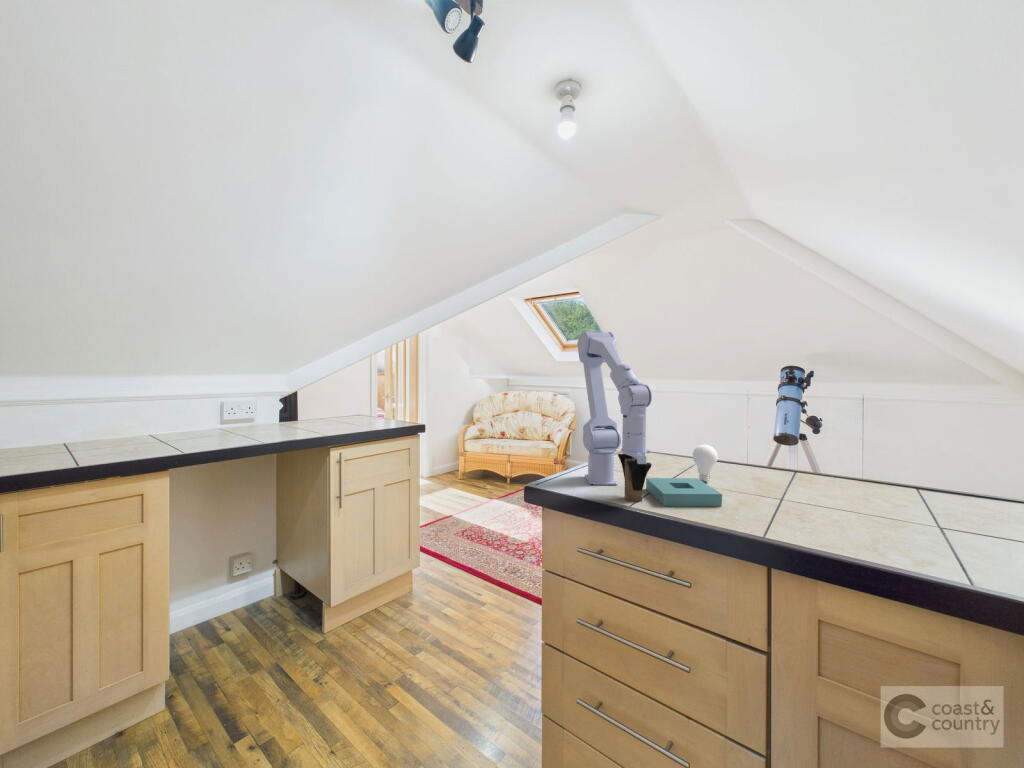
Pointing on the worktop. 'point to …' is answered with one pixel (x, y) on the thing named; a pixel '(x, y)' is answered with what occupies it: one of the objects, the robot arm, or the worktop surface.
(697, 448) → the light bulb
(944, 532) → the worktop surface
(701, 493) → the socket block
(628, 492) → the peg
